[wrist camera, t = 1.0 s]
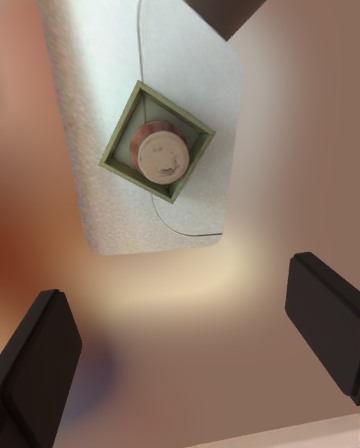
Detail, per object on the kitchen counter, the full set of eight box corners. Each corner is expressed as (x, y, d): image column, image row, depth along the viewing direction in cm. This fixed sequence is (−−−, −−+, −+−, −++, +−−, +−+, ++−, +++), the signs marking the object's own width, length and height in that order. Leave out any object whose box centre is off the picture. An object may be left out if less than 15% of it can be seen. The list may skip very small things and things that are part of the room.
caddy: (139, 86, 33) (137, 79, 28) (205, 130, 36) (215, 132, 31) (105, 158, 36) (98, 164, 31) (169, 193, 40) (172, 204, 34)
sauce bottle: (169, 171, 38) (187, 214, 20) (130, 159, 37) (112, 195, 19) (181, 129, 36) (215, 135, 18) (141, 115, 35) (132, 106, 16)
